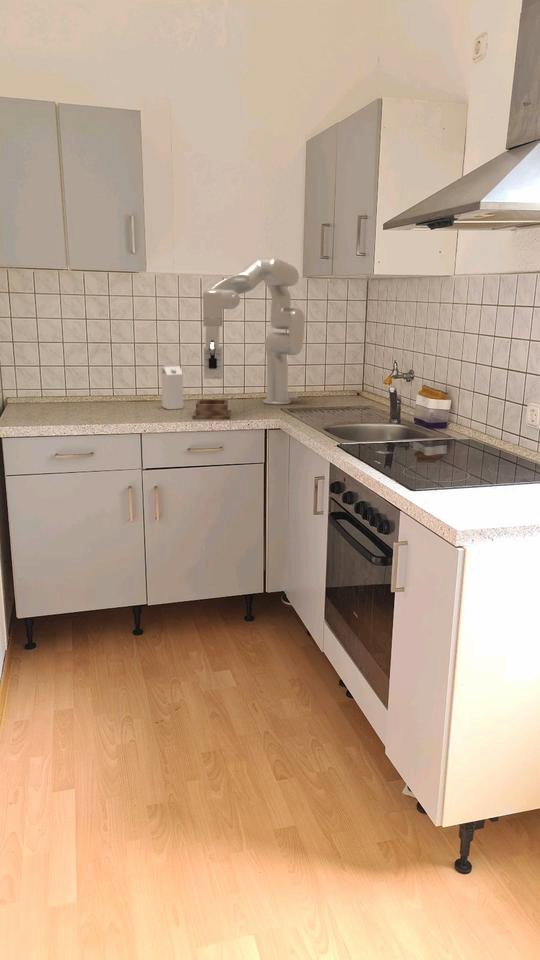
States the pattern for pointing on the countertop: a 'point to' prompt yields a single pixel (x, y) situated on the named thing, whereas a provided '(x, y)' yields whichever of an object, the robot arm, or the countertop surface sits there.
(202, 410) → the walnut caddy
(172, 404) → the milk carton
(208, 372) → the supplement box
